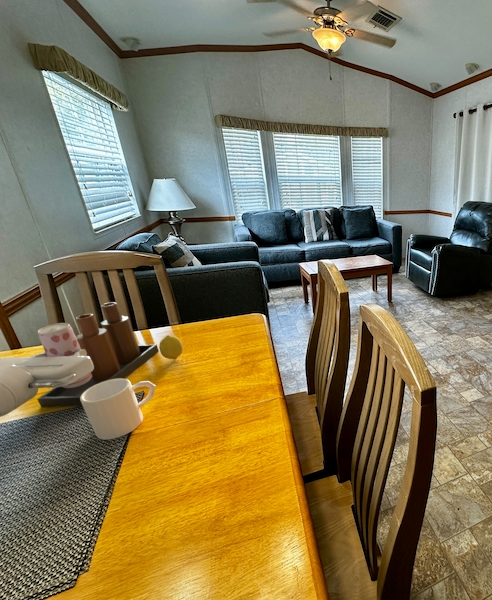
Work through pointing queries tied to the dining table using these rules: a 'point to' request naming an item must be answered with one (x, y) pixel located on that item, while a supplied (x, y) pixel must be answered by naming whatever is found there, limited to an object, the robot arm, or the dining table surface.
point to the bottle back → (120, 333)
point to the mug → (114, 407)
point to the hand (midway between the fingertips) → (68, 352)
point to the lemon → (171, 347)
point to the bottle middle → (97, 348)
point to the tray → (93, 382)
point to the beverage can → (61, 345)
